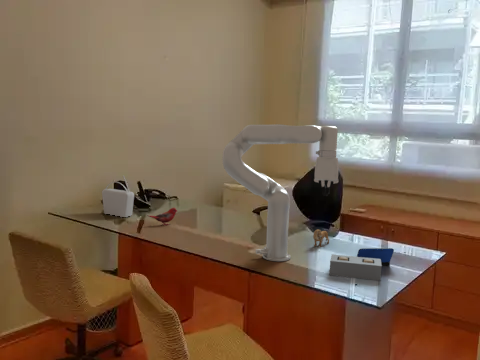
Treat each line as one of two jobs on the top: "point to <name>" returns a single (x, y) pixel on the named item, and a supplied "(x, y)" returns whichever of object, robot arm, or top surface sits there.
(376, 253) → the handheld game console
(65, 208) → the top surface
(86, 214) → the top surface
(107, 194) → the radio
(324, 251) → the top surface
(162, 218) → the decorative bird figurine
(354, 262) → the block
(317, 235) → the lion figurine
